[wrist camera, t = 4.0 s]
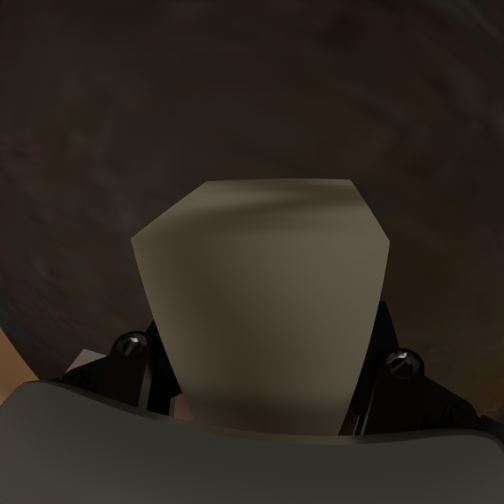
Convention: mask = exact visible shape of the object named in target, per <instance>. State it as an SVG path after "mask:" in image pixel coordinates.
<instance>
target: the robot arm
mask: <svg viewBox="0 0 504 504" xmlns="http://www.w3.org/2000/svg"><path fill="white" fill-rule="evenodd" d="M424 371H425V368H424V362H423V360H422V359H421V357H420V356H419V355H418V354H417V353H415V352H414V351H412V350H409V349H406V348H399V344H398V341H397V337H396V334H395V330H394V327H393V324H392V320H391V317H390V314H389V311H388V308H387V305H386V302H385V301H379V304H378V309H377V313H376V317H375V322H374V326H373V330H372V334H371V337H370V341H369V345H368V348H367V352H366V356H365V359H364V362H363V366H362V369H361V372H360V375H359V379H358V382H357V385H356V388H355V391H354V394H353V396H352V399H351V402H350V405H349V408H348V409H352V411H353V412H354V413H356V414H357V415H358V419H357V422H356V426H355V429H354V432H353V435H352V436H303V435H285V434H272V433H262V432H253V431H245V430H238V429H231V428H224V427H218V426H213V425H207V424H202V423H197V422H192V421H188V420H183V419H179V418H175V417H174V409H175V396H178V395H179V394H183V393H182V391H181V388H180V386H179V383H178V381H177V379H176V376H175V374H174V371H173V369H172V366H171V364H170V361H169V359H168V356H167V353H166V351H165V348H164V345H163V343H162V340H161V337H160V334H159V332H158V329H157V326H156V323H155V320H153V321H152V323H151V324H150V326H149V327H148V329H147V330H146V332H145V333H144V332H142V331H132V332H128V333H125V334H123V335H121V336H120V337H119V338H118V339H117V340H116V341H115V342H114V344H113V346H112V349H111V351H110V354H109V355H108V356H105V357H103V358H100V359H97V360H95V361H92V362H89V363H87V364H84V365H81V366H78V367H76V368H73V369H71V370H69V371H68V372H66V373H65V374H64V375H63V377H62V378H61V380H60V378H59V377H58V378H54V379H50V380H46V381H41V380H36V381H29V382H26V383H23V384H21V385H20V386H18V387H17V388H16V389H15V390H14V391H13V392H12V393H11V394H10V395H9V396H8V398H7V399H6V400H5V401H4V402H3V404H2V405H1V406H0V504H504V424H502V423H499V422H497V421H495V420H493V419H490V418H488V417H486V416H484V415H482V416H481V418H479V417H477V414H476V411H475V409H474V408H473V406H472V405H471V404H470V403H468V402H467V401H465V400H464V399H462V398H460V397H459V396H457V395H455V394H454V393H452V392H451V391H449V390H447V389H446V388H444V387H442V386H441V385H439V384H437V383H436V382H434V381H432V380H431V379H429V378H428V377H426V376H424Z"/></svg>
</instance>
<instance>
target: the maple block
mask: <svg viewBox="0 0 504 504" xmlns="http://www.w3.org/2000/svg"><path fill="white" fill-rule="evenodd" d="M131 241H132V245H133V249H134V253H135V257H136V261H137V264H138V268H139V272H140V275H141V279H142V282H143V285H144V289H145V292H146V295H147V299H148V302H149V305H150V308H151V311H152V314H153V317H154V320H155V323H156V326H157V329H158V332H159V334H160V337H161V340H162V343H163V345H164V348H165V351H166V353H167V356H168V359H169V361H170V364H171V366H172V369H173V371H174V374H175V376H176V379H177V381H178V383H179V386H180V388H181V391H182V393H183V395H184V397H185V400H186V402H187V404H188V406H189V409H190V411H191V413H192V415H193V417H194V419H195V421H196V422H197V423H202V424H207V425H213V426H218V427H224V428H231V429H238V430H245V431H253V432H262V433H272V434H285V435H303V436H338V434H339V431H340V429H341V426H342V424H343V421H344V418H345V416H346V413H347V410H348V408H349V405H350V402H351V399H352V396H353V394H354V391H355V388H356V385H357V382H358V379H359V375H360V372H361V369H362V366H363V362H364V359H365V356H366V352H367V348H368V345H369V341H370V337H371V334H372V330H373V326H374V322H375V317H376V313H377V309H378V304H379V300H380V295H381V290H382V285H383V280H384V274H385V269H386V263H387V257H388V250H389V243H390V241H389V240H388V238H387V236H386V235H385V233H384V231H383V230H382V228H381V226H380V225H379V223H378V221H377V220H376V218H375V217H374V215H373V213H372V212H371V210H370V209H369V207H368V206H367V204H366V202H365V201H364V199H363V198H362V196H361V195H360V193H359V192H358V190H357V189H356V187H355V186H354V185H353V183H352V182H351V180H343V179H248V180H223V181H207V182H205V183H204V184H202V185H201V186H200V187H198V188H197V189H195V190H194V191H193V192H191V193H190V194H188V195H187V196H186V197H184V198H183V199H182V200H180V201H179V202H177V203H176V204H175V205H173V206H172V207H171V208H169V209H168V210H167V211H165V212H164V213H163V214H161V215H160V216H159V217H158V218H156V219H155V220H154V221H152V222H151V223H150V224H149V225H147V226H146V227H145V228H144V229H142V230H141V231H140V232H138V233H137V234H136V235H135V236H134V237H132V238H131Z"/></svg>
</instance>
